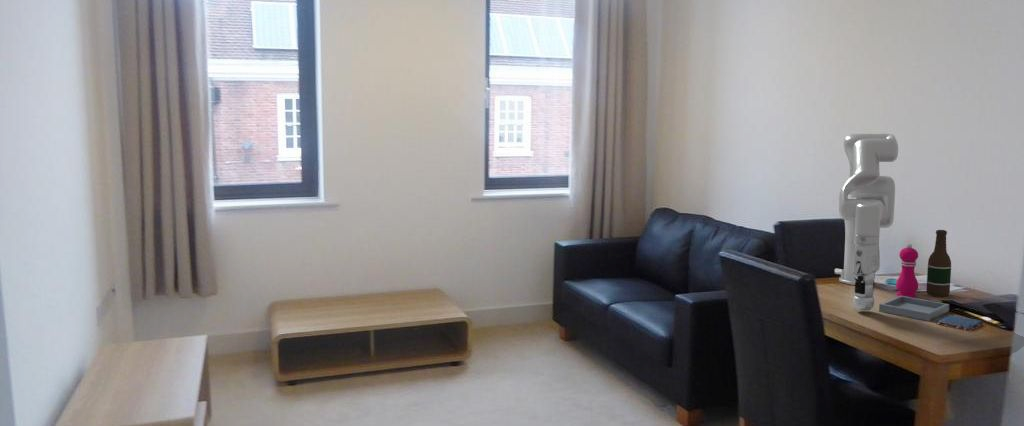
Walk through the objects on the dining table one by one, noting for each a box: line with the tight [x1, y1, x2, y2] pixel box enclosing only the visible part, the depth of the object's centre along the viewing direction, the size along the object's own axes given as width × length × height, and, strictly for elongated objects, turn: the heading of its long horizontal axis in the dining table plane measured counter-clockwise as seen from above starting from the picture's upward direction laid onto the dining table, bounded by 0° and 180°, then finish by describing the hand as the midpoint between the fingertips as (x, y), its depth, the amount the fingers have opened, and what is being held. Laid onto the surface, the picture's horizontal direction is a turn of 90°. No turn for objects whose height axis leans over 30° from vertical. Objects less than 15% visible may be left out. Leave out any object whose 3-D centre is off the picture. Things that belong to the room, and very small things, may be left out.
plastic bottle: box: [852, 265, 876, 311], centre depth 248 cm, size 6×7×20 cm
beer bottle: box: [926, 229, 952, 298], centre depth 267 cm, size 8×8×24 cm
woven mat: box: [935, 314, 985, 332], centre depth 233 cm, size 10×11×2 cm
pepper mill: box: [895, 243, 919, 298], centre depth 264 cm, size 7×7×20 cm
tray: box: [878, 296, 950, 322], centre depth 248 cm, size 16×16×2 cm
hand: (864, 291), depth 248 cm, fingers closed on plastic bottle, 5 cm apart
